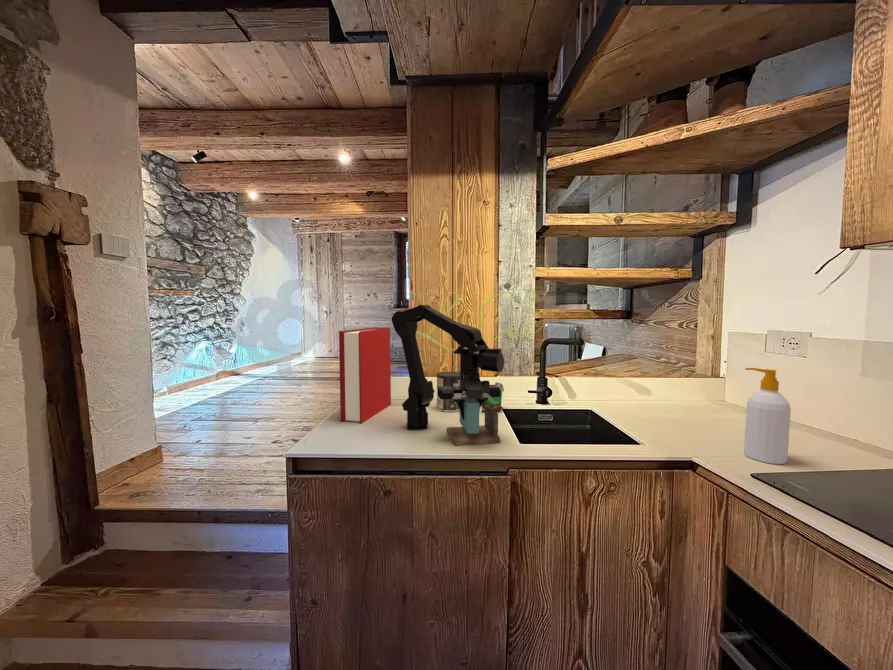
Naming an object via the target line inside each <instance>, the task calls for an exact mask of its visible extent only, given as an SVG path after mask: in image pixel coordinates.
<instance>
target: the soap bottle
mask: <svg viewBox="0 0 893 670" xmlns="http://www.w3.org/2000/svg"><path fill="white" fill-rule="evenodd" d="M744 370H745V371H757V372H761V373H764V376H763V378H762V379H760V390H758V391H756V392H754V393H753V394H752V395H750V396H749V397H748V399H747V402H746V412H745V413H746V415H745V426H744V427H745V430H744V432H745V433H744V445H743V454H744V455H745V456H746V457H748V458H750V459H752V460H755V461H757V462H762V463H765V464H766V463H767V464H772V465H784V464H786V463H787V462H788V456H789V455H788V454H789V442H790V427H791V425H790V424H791V413H792V412H791V404H790V402H789V401H788V399H786V397H784V396H783V394H781V393H780V392H779V388H780V387H779V385H780V384H779V383H780V382H779V381H778V378H777V377H776V374H777V373H776V372H777V369H768V368H766V369H765V368H764V369H763V368H756V367H745V368H744Z"/></svg>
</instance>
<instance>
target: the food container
mask: <svg viewBox="0 0 893 670" xmlns="http://www.w3.org/2000/svg"><path fill="white" fill-rule="evenodd" d="M494 385H496V386H497V387H499V388H500V389H501V397H491V396H490V395H489V394H487V398H488V400H485V401H484V402H483V403H482V405H481V413H483V414H485V405H489V406H490V407H491V408H492V409H493V410H495V411H496V412H497V413H499V412H501V411H502V410H501V409H502V398H503V392H504V391H505V388H504V385H503V384H502V383H500V382H495V384H494Z"/></svg>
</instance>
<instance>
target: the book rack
mask: <svg viewBox="0 0 893 670" xmlns="http://www.w3.org/2000/svg"><path fill="white" fill-rule="evenodd" d="M446 434H447V435H448V438H449V440H450V441H451V443H452V445H453V447H458V446H460V447H461V446H471V445H472V446H474V445H475V446H476V445H487V444H488V445H490V444H500V443H501V436H499V412H496V411H495V410H493V409H492V408H491V407H490V406H489V405H485V413H484V424H483V425H482V424H481V425H479V433H472V434H467V432H466V431H465V429H464V428H463V426H451V427H448V426H447V427H446Z"/></svg>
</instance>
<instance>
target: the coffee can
mask: <svg viewBox="0 0 893 670" xmlns="http://www.w3.org/2000/svg"><path fill="white" fill-rule="evenodd" d="M440 386H451V387H452V388H453V389H460V371H459V372H458V371H457V372H456V371H440V372H437V373H436V410H437V411H440V412H444V413H453V412H454V413H455V412H459V409H458V406H457V404H456V402H455V401H453V400H452V399H440V398H439V396H438V388H439V387H440Z"/></svg>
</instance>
